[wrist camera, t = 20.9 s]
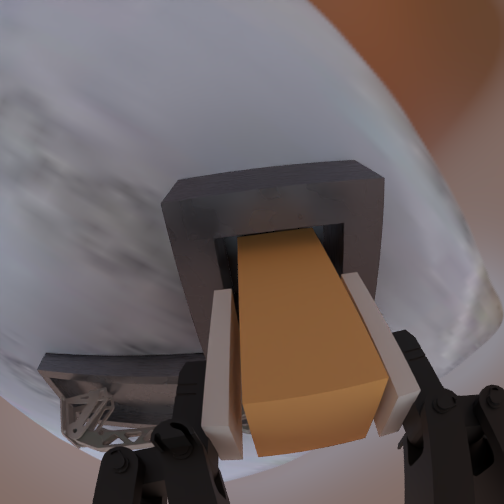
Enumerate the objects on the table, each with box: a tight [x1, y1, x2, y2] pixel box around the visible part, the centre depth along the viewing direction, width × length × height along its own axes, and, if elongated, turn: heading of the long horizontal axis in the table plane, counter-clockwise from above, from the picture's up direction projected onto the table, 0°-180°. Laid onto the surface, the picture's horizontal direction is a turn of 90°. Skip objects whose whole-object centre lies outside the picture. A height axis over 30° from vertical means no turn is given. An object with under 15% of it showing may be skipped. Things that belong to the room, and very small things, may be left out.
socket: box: [161, 160, 384, 361], centre depth 17 cm, size 10×10×4 cm
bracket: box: [60, 387, 251, 452], centre depth 22 cm, size 3×21×10 cm, turn 95°
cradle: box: [37, 353, 248, 428], centre depth 24 cm, size 26×9×2 cm, turn 97°
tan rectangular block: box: [237, 228, 389, 457], centre depth 12 cm, size 4×4×10 cm
